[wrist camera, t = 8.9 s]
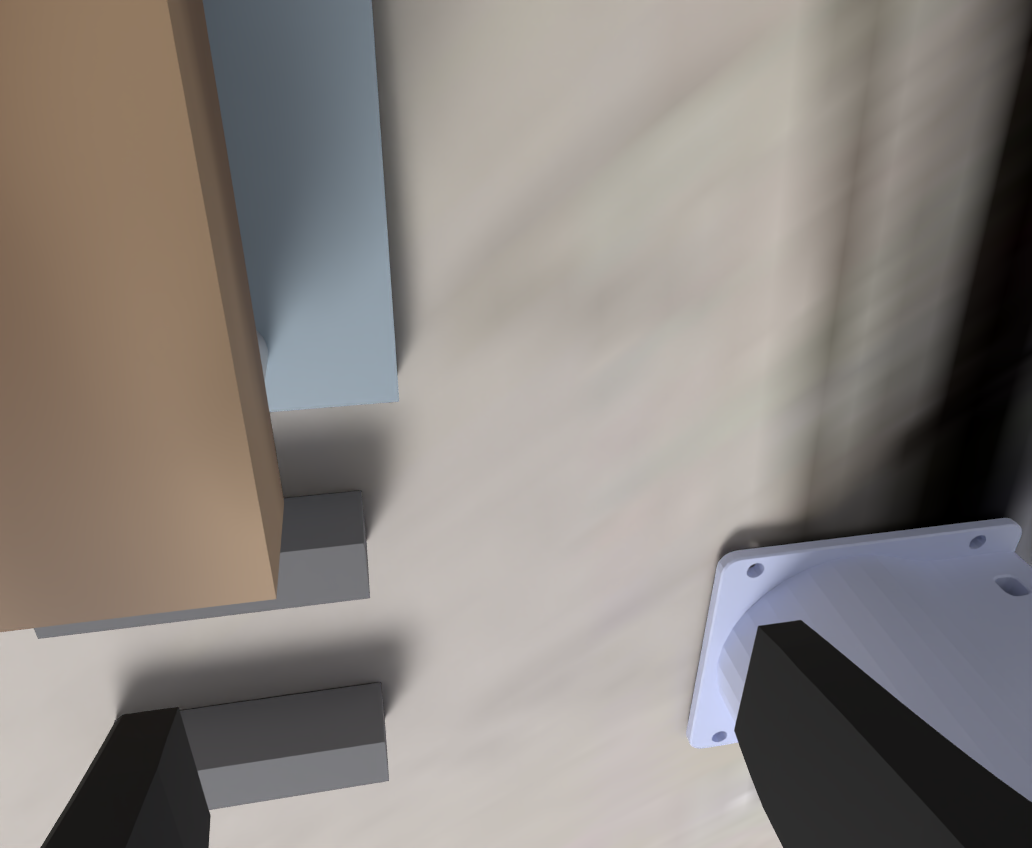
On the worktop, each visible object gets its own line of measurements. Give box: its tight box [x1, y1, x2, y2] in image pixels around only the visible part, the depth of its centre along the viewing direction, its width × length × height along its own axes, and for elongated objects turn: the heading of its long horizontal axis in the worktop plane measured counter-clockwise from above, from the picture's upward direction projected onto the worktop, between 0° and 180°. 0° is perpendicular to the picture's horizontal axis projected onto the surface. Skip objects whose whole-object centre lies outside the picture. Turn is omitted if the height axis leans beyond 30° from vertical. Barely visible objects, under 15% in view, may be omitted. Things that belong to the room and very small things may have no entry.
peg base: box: [203, 0, 399, 412], centre depth 13 cm, size 9×10×4 cm
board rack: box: [34, 491, 389, 810], centre depth 20 cm, size 7×8×2 cm
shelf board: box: [0, 0, 284, 632], centre depth 10 cm, size 4×10×2 cm, turn 179°
